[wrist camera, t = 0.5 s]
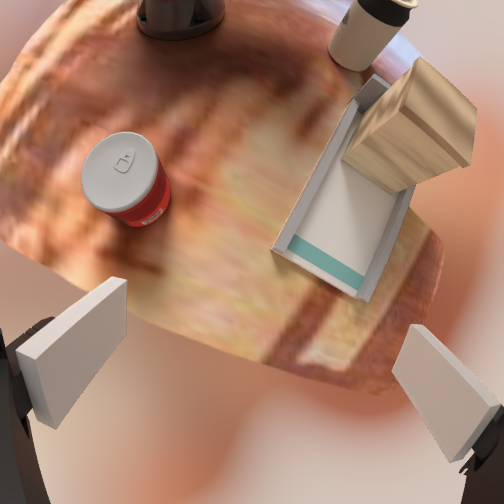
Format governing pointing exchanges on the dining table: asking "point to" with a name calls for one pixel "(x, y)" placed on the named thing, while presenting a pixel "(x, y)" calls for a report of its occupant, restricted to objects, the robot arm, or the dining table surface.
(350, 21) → the travel mug
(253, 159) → the dining table surface
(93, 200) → the canned food
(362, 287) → the bay
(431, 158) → the wooden block
